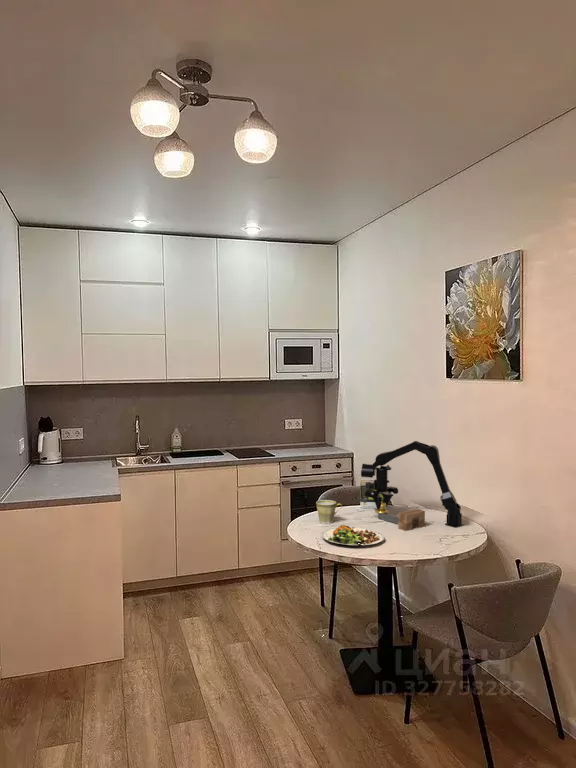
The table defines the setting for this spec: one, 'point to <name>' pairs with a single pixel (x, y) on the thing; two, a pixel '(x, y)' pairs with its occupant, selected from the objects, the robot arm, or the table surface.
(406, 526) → the block
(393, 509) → the table surface
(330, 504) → the ceramic cup
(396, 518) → the grey sliding bolt
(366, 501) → the tea box
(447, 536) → the table surface
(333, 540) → the plate of food
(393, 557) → the table surface
